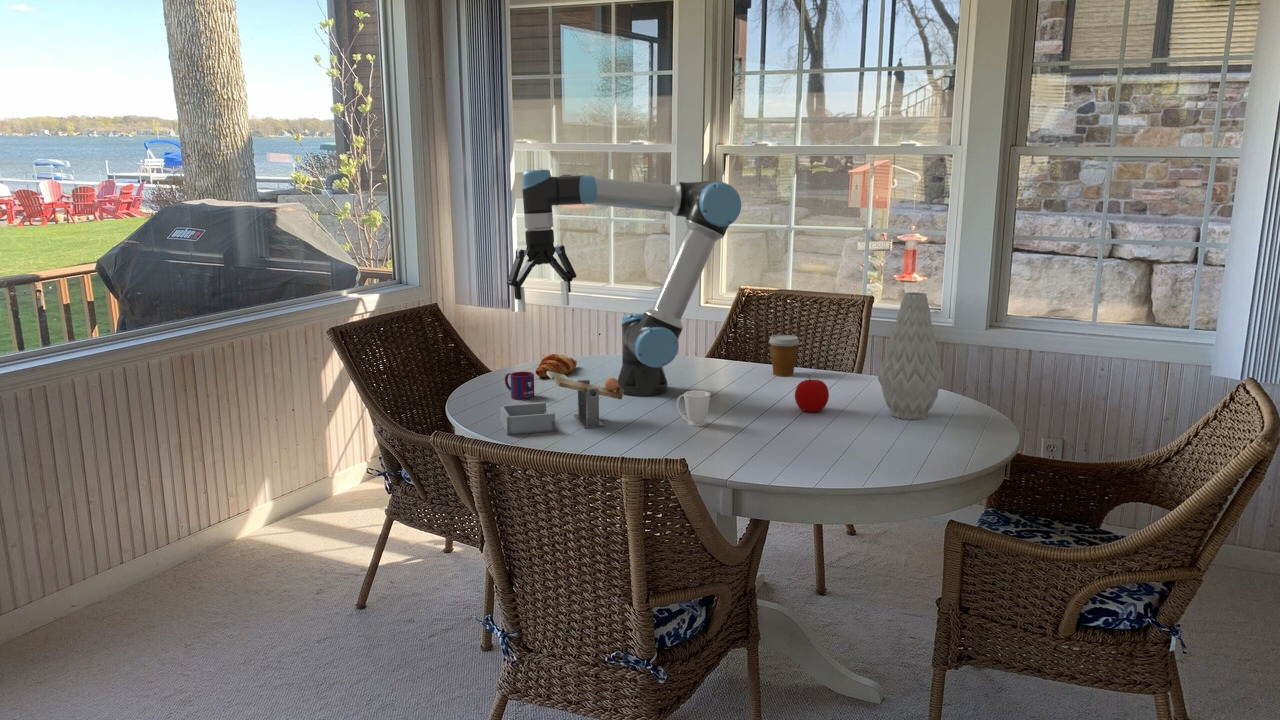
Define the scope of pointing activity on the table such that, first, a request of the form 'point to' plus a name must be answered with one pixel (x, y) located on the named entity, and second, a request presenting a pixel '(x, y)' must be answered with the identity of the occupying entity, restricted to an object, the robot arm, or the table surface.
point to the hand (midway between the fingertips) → (544, 308)
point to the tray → (526, 418)
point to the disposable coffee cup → (783, 354)
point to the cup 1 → (521, 385)
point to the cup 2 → (695, 406)
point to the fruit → (811, 395)
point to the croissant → (555, 365)
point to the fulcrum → (588, 407)
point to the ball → (611, 384)
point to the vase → (911, 361)
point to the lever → (583, 385)
